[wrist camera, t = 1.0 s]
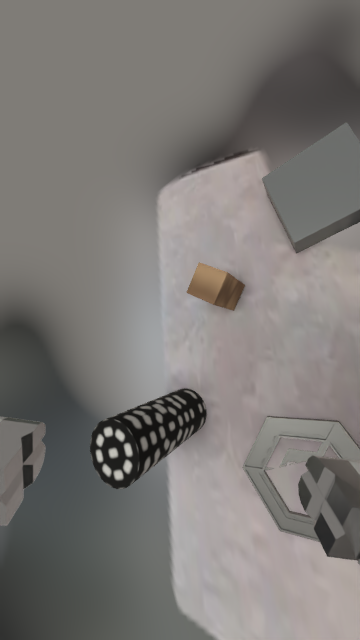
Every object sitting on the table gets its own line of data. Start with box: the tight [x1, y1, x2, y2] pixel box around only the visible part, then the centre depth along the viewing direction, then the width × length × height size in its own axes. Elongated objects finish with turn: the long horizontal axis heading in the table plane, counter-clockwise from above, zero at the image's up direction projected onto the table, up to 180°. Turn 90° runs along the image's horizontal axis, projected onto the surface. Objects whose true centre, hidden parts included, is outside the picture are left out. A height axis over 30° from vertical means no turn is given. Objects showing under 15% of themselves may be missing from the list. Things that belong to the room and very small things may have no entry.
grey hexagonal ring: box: [243, 416, 360, 542], centre depth 37 cm, size 17×20×1 cm
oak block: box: [187, 263, 245, 311], centre depth 41 cm, size 5×5×10 cm
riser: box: [262, 123, 360, 253], centre depth 36 cm, size 12×12×5 cm
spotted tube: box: [90, 389, 206, 489], centre depth 39 cm, size 8×8×20 cm
